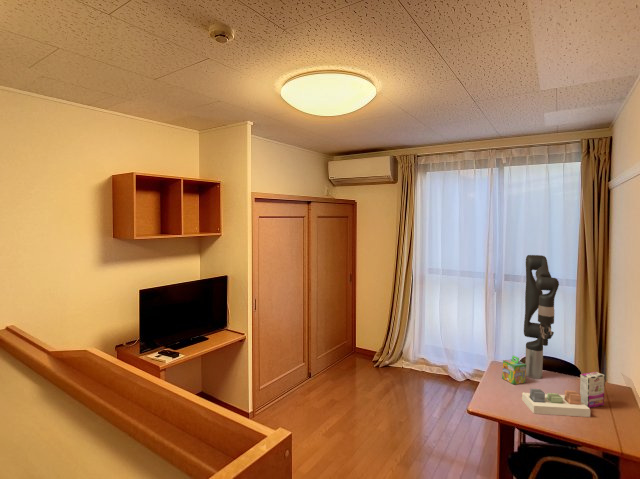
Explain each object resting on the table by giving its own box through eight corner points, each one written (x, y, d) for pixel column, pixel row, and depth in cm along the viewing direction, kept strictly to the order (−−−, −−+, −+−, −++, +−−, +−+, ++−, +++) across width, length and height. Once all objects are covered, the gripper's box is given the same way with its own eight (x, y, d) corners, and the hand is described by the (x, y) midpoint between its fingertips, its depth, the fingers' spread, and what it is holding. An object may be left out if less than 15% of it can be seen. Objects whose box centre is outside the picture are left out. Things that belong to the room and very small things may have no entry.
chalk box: (501, 378, 222) (502, 354, 221) (513, 376, 225) (514, 353, 224) (513, 385, 213) (514, 360, 212) (526, 383, 216) (526, 358, 215)
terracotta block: (564, 401, 189) (564, 390, 188) (574, 402, 188) (575, 390, 188) (569, 406, 184) (570, 395, 183) (580, 407, 183) (581, 395, 183)
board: (521, 399, 196) (522, 392, 195) (573, 402, 192) (574, 395, 192) (533, 413, 182) (534, 405, 182) (590, 417, 178) (590, 409, 178)
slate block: (529, 399, 191) (530, 388, 190) (539, 400, 190) (540, 389, 190) (534, 404, 186) (534, 393, 185) (544, 405, 185) (544, 393, 185)
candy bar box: (594, 401, 194) (596, 371, 193) (604, 405, 189) (605, 375, 188) (578, 403, 191) (579, 373, 190) (587, 408, 186) (589, 377, 186)
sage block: (546, 404, 190) (547, 392, 189) (557, 404, 189) (557, 393, 189) (551, 408, 185) (552, 397, 184) (562, 409, 184) (562, 398, 184)
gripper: (533, 310, 203) (532, 340, 204) (544, 317, 190) (543, 349, 191) (547, 311, 202) (546, 341, 203) (560, 317, 189) (558, 349, 190)
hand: (545, 345), depth 197 cm, fingers closed
